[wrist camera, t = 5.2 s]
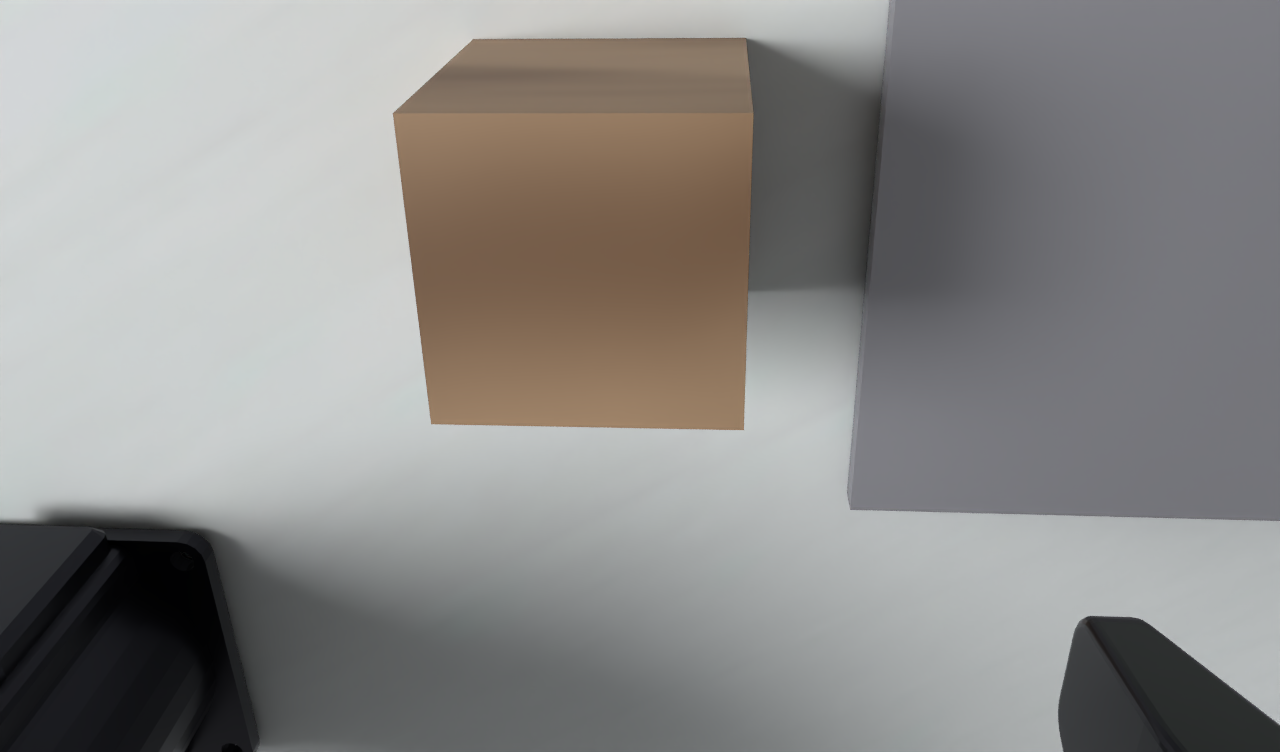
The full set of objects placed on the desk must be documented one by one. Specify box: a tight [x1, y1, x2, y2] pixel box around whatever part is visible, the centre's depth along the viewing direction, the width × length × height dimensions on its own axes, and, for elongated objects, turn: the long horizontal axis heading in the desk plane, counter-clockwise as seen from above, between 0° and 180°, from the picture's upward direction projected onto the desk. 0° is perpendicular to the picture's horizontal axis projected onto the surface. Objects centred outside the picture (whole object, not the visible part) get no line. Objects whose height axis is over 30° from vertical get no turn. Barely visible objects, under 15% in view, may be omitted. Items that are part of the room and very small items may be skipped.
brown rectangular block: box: [393, 38, 754, 430], centre depth 17 cm, size 4×4×5 cm
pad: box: [847, 0, 1280, 521], centre depth 19 cm, size 10×10×1 cm
